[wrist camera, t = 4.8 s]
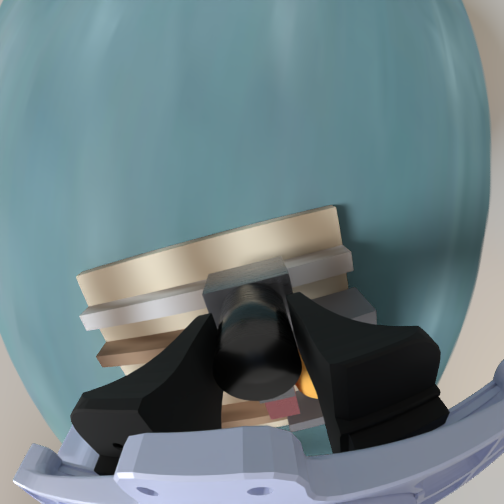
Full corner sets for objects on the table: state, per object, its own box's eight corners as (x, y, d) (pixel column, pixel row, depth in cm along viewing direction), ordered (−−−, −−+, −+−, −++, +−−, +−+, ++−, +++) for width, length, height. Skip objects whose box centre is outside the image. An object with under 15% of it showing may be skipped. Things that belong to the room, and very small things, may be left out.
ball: (360, 375, 17) (313, 366, 20) (358, 334, 16) (306, 326, 19) (336, 416, 15) (286, 401, 17) (333, 376, 13) (274, 361, 16)
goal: (285, 401, 20) (290, 432, 17) (260, 312, 18) (263, 342, 14) (360, 380, 20) (374, 407, 17) (355, 286, 17) (376, 310, 14)
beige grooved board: (172, 431, 22) (167, 453, 20) (82, 271, 17) (61, 287, 15) (352, 398, 22) (361, 421, 19) (330, 205, 17) (347, 211, 14)
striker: (254, 389, 19) (260, 481, 11) (211, 264, 16) (185, 349, 8) (305, 378, 19) (330, 467, 11) (277, 248, 16) (309, 321, 8)
